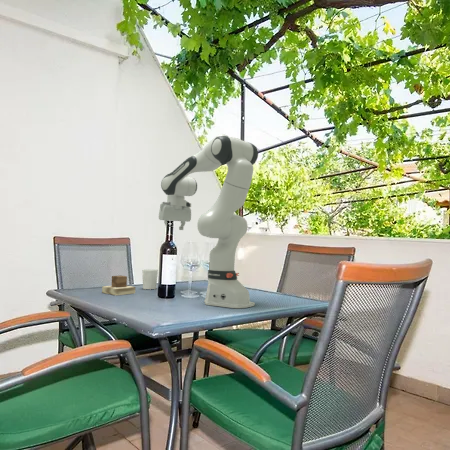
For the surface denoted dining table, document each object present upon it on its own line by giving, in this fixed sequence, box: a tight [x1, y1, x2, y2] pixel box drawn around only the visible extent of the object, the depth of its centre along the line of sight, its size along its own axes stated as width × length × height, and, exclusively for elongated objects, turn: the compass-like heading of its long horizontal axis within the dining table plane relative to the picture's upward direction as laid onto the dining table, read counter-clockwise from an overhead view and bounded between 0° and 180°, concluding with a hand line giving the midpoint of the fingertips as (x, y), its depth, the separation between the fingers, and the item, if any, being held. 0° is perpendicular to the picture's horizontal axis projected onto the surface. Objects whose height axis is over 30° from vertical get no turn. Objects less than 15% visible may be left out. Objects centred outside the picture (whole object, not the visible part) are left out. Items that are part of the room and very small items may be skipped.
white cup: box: [142, 268, 159, 290], centre depth 220 cm, size 8×8×10 cm
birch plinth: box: [101, 285, 136, 296], centre depth 202 cm, size 11×11×3 cm
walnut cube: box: [110, 275, 128, 288], centre depth 202 cm, size 5×5×5 cm
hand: (174, 229), depth 218 cm, fingers open, 8 cm apart
